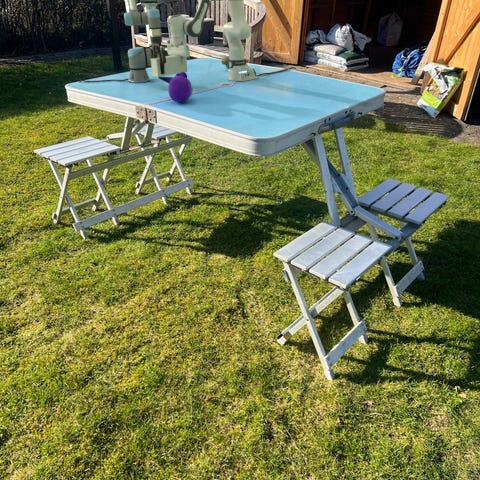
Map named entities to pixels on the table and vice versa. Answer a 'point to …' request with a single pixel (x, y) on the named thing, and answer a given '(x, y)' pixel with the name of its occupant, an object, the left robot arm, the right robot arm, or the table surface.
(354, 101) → the table surface
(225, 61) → the cream textured rounded piece
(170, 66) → the box
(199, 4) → the right robot arm
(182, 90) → the toy
